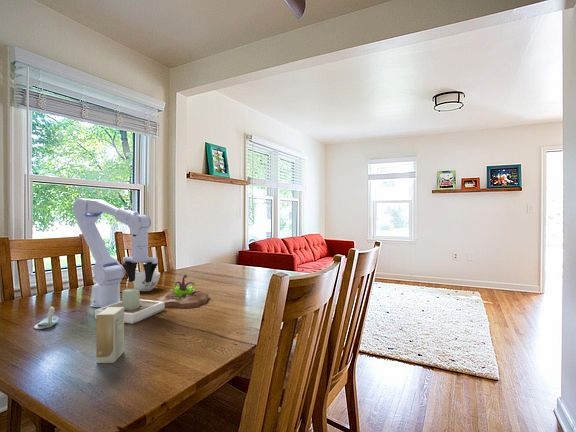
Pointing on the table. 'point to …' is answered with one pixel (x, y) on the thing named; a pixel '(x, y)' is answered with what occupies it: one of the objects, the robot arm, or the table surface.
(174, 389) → the table surface
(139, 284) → the teacup
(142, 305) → the hole plate
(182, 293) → the plant
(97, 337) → the skincare box
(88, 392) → the table surface
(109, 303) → the robot arm
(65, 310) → the table surface
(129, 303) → the peg
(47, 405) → the table surface
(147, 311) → the tray
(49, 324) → the pacifier
